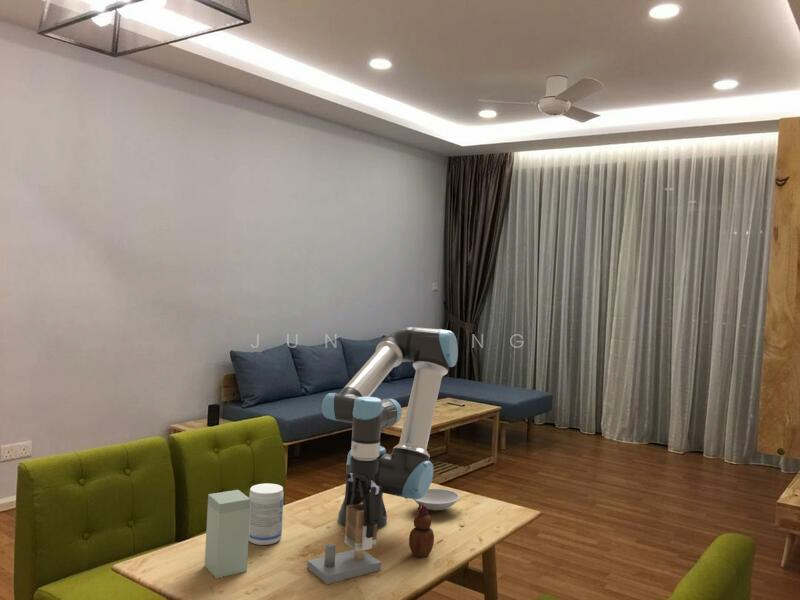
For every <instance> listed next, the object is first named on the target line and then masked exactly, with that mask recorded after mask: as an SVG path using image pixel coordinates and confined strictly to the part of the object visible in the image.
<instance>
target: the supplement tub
mask: <svg viewBox="0 0 800 600" xmlns="http://www.w3.org/2000/svg"><path fill="white" fill-rule="evenodd" d="M248 495H249V496H248V497H249V498H250V499H251V502H250V521H249V540H248V542H250V543H252V544H255V545H257V546H268V545H274V544H276V543H277V542H279V541H280V540H281V539H282V536H283V534H282V533H283V515H284V513H283V512H284V487H283V486H282V485H280V484H276V483H258V484H255V485H252V486H251V487H250V489H249V494H248Z"/></svg>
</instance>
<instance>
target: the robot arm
mask: <svg viewBox="0 0 800 600" xmlns="http://www.w3.org/2000/svg"><path fill="white" fill-rule="evenodd" d="M376 345H377V346H376V347H375V352H374V353H373V354H372V355H371V357H370V358H369V359H368V360H367V361H366V362H365V363H364V364H363V365H362V367H361V368H360V369H359V370H358V371H357V372H356V374H355V375H354V376H353V377H352V379H350V380H349V382H348V383H347V384H346V385H345V386H344V387H343V388H342V389H341V391H340V392H339V393H337V392H329V393H327V394H326V395H325V396H324V398H323V400H322V403H321V412H322V415H323V416H324V417H325V419H328V420H332V421H336V422H341V423H342V422H343V423H349V424H352V425H351V427H352V428H351V429H352V430H351V446H350V448H351V449H350V450H349V452H348V454H347V459H346V463H345V464H346V473H345V493H344V498H343V501H342V504H341V507H340V509H339V511H338V518H337V519H338V520H337V521H338V524H340V526H342V527H344V528H345V525H346V506H347V505H354V504H359V503H363V507H364V516H365V523H364V524H363V534H362V550H365V551H366V550H367V551H368V550H372V549H373V548H372V538H373V531H374V525H376V524H377V530H378V529H382V528H384V527H385V526H386V524H387V520H388V514H387V510H386V506H385V503H384V498H383V494H387V495H390V496H395V497H401V498H404V499H406V500H407V499H410V500H411V499H412V500H413V499H420V498H422V497H423V496H424V495H425V494H426V492H427V491H428V489H429V488H431V484H432V481H433V479H434V464H433V463H432V461H430V458H431V456H430V453H428V451H427V449H428V442H429V439H430V435H431V430H432V425H433V421H434V416H435V410H436V406H437V402H438V397H439V392H440V388H441V383H442V380H443V379H442V378H443V377H444V376H446V375H447V374H448V372H449V369H450V368H452V367H455V366H456V364H457V362H458V357H459V347H458V340H457V337H456V335H455V333H454V332H453V331H451V330H447V329H442V328H428V327H419V326H418V327H417V326H407V327H406V326H405V327H403V328H399V329H397V330H395V331H393V332H391V333H390V334H388V335H386V337H384V338H383V339H382V340H381V341H380V342H378V344H376ZM405 362H410V363H412V367H413V368H414V370H415V374H414V379H413V383H412V387H411V390H410V396H409V399H408V400H409V401H408V404H407V408H406V412H405V417H404V422H403V425H402V430H401V435H400V439H399V442H398V444H396V445H395V446H394V447H393V448H392V452H391V454H390V453H386V452H387V451H386V448H385V447H384V446H382V445H381V433H382V432H381V431H382V430H384V429H387V428H391V427H393V426H394V425H396V424H397V423H398V422H399V421H400V420H401V418H402V417H403V416H402V415H403V409H402V406H401V404H400V403H399V402H398V401H397V400H396V399H394V398H383V399H381V398H379V397H375V396H371V395H372V394H374V392H375V391H376V390H377V388H378V387H379V386H380V385H381V384H382V382H383V381H384V379H385V378H386V377H387V376H388V374H389V373H390V372H391V371H392V370H393V368H396V367H399V366H400V365H401V364H402V363H405ZM449 367H450V368H449ZM383 526H384V527H383Z"/></svg>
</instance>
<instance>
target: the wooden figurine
mask: <svg viewBox="0 0 800 600" xmlns="http://www.w3.org/2000/svg"><path fill="white" fill-rule="evenodd" d="M417 508H418V509H417V514H416V515H415V516H414V517H413V526H414V527H413V528H412V529H411V530H410V533H409V536H408V537H409V538H408V545H409V549H410V552H411V554H412V555H413V556H414V557H416V556H417V558H426V557H428V556H429V555H430V554H431V552H432V550H433V548H434V543H435V542H434V541H435V534H434V530H433V529H432V528H431V526H432V517H431V516H430V515H429V513H428V512H429V511H428V509H427V508H426V506H424V503H422V507H421V505H420V503H419V504H418V507H417ZM425 556H426V557H425Z"/></svg>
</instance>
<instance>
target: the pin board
mask: <svg viewBox="0 0 800 600" xmlns="http://www.w3.org/2000/svg"><path fill="white" fill-rule="evenodd" d="M324 548H325V549H324V550H325V551H324V556H321V557H318V558H314V559H309V560H307V569H308V570H309V571H310V572H312V573H313V574H314V576H316V577H317V578H318V579H320V580H321V581H322V582H324V584H326V585H330V584H333V583H337V582H340V581H344V580H345V581H346V580H348V579H351V578H355V577H359V576H362V575H365V574H370V573H374V572H378V571H381V566H382V565H381V563H382V562H381V560H378V559H377V558H375V557H374V556H373V555H372V554H369V553H368V552H366V550H361V551H355V550H354V549H350V550H346V551H342V552H339V553H336V544H333V543H327V544H325V547H324Z"/></svg>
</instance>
